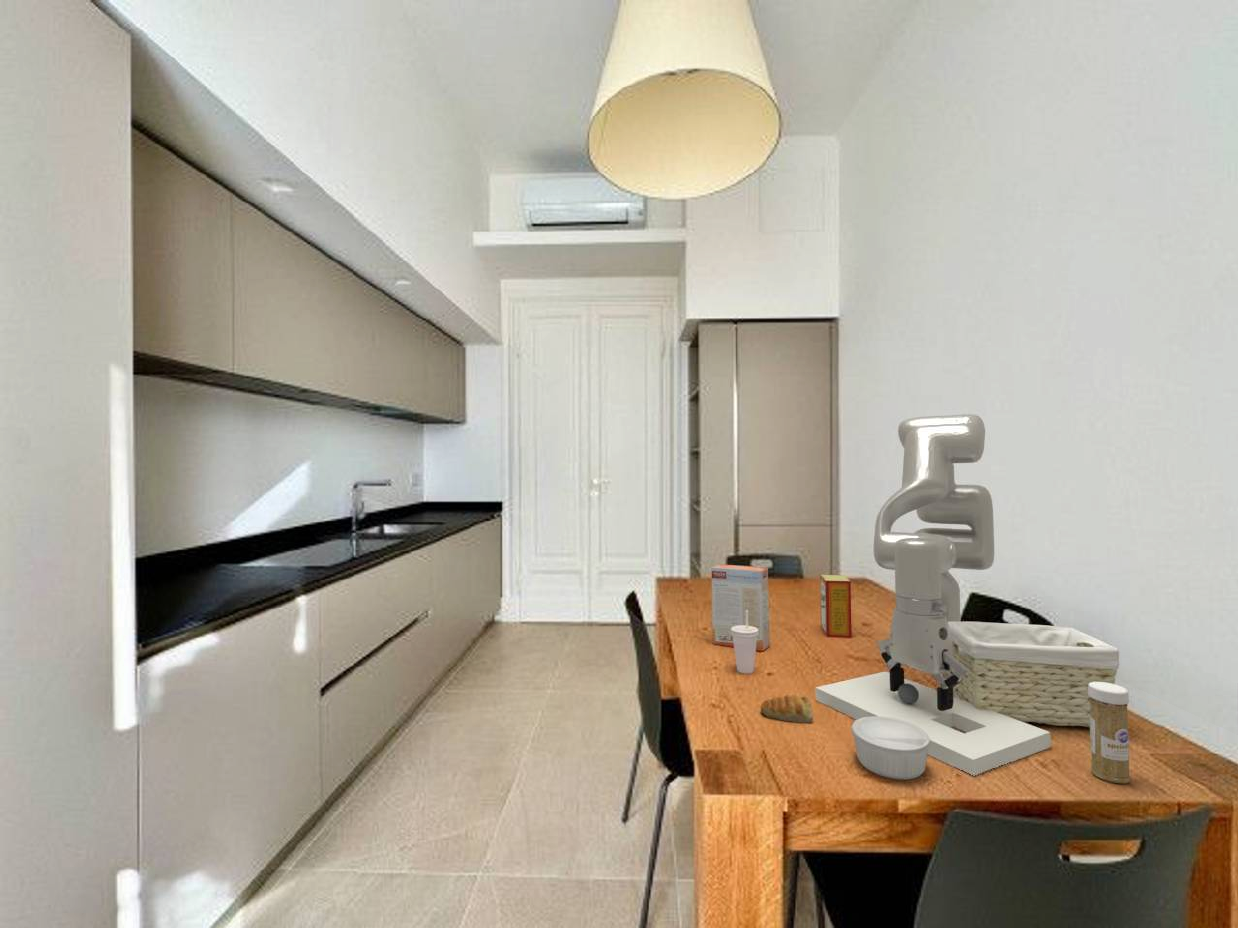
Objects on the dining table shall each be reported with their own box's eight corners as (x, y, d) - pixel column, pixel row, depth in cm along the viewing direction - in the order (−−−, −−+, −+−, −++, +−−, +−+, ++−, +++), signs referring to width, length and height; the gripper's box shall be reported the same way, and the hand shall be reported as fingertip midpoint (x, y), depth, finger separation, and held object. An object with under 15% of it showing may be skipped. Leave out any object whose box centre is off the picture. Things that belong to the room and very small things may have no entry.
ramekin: (894, 791, 81) (894, 754, 81) (836, 756, 91) (835, 723, 91) (948, 774, 85) (947, 739, 86) (886, 742, 96) (885, 711, 96)
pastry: (762, 722, 104) (762, 701, 104) (759, 707, 111) (758, 688, 111) (815, 725, 103) (814, 704, 103) (808, 709, 109) (808, 690, 110)
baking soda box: (821, 627, 166) (820, 573, 166) (844, 628, 164) (843, 573, 165) (826, 637, 156) (825, 579, 157) (851, 638, 155) (850, 579, 155)
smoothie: (760, 676, 127) (759, 614, 127) (731, 674, 128) (730, 612, 128) (758, 666, 133) (757, 607, 133) (731, 665, 134) (730, 606, 135)
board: (815, 699, 113) (815, 687, 114) (885, 682, 122) (885, 671, 122) (973, 776, 85) (973, 759, 85) (1050, 747, 93) (1050, 732, 93)
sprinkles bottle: (1120, 787, 81) (1117, 693, 81) (1083, 772, 85) (1081, 683, 85) (1137, 780, 83) (1135, 688, 83) (1100, 765, 87) (1098, 678, 87)
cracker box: (770, 646, 149) (769, 566, 149) (763, 652, 144) (761, 570, 144) (720, 638, 156) (719, 563, 157) (711, 644, 151) (710, 566, 151)
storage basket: (1072, 698, 112) (1069, 623, 113) (1127, 735, 96) (1125, 648, 97) (940, 690, 117) (939, 619, 117) (973, 724, 101) (971, 642, 102)
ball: (910, 677, 107) (925, 691, 104) (905, 691, 108) (919, 705, 105) (896, 681, 106) (911, 695, 103) (891, 695, 107) (905, 709, 104)
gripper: (978, 613, 97) (980, 713, 97) (892, 594, 113) (893, 680, 113) (949, 619, 94) (951, 721, 94) (865, 598, 110) (866, 686, 110)
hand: (920, 699), depth 103 cm, fingers open, 9 cm apart
